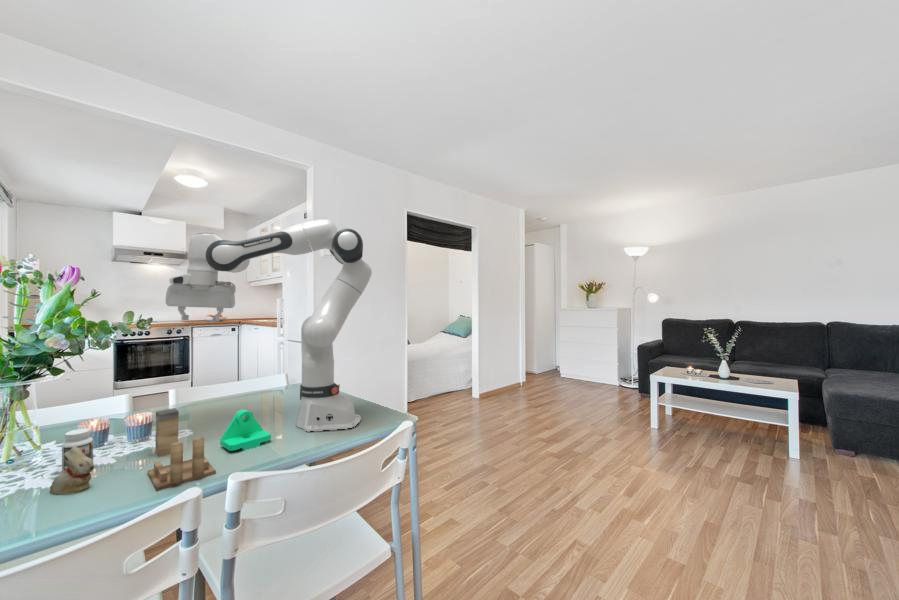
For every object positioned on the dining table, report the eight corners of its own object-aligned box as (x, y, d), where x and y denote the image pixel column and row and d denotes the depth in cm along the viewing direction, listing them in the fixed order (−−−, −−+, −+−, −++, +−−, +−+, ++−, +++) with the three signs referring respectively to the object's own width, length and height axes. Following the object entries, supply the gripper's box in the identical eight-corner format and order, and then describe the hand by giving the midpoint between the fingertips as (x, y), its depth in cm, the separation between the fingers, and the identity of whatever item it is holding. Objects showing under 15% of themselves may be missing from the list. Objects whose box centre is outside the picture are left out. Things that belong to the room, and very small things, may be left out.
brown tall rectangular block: (155, 452, 106) (155, 411, 106) (174, 448, 109) (175, 407, 109) (158, 457, 103) (159, 414, 103) (178, 452, 106) (178, 411, 106)
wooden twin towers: (147, 473, 93) (148, 435, 93) (202, 459, 102) (203, 424, 102) (157, 492, 85) (157, 450, 85) (216, 474, 93) (217, 436, 93)
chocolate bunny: (64, 499, 81) (65, 454, 81) (46, 491, 84) (46, 448, 84) (96, 487, 86) (96, 444, 86) (77, 480, 89) (78, 439, 89)
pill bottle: (98, 466, 97) (99, 428, 97) (71, 476, 92) (71, 436, 92) (83, 463, 99) (84, 426, 99) (55, 473, 93) (56, 433, 93)
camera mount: (230, 455, 105) (230, 419, 105) (220, 448, 110) (220, 414, 110) (272, 442, 115) (272, 410, 115) (260, 436, 120) (261, 405, 120)
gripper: (238, 282, 131) (237, 321, 131) (173, 279, 127) (172, 319, 126) (232, 281, 125) (230, 322, 125) (163, 278, 120) (161, 320, 120)
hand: (200, 320), depth 126 cm, fingers open, 8 cm apart
